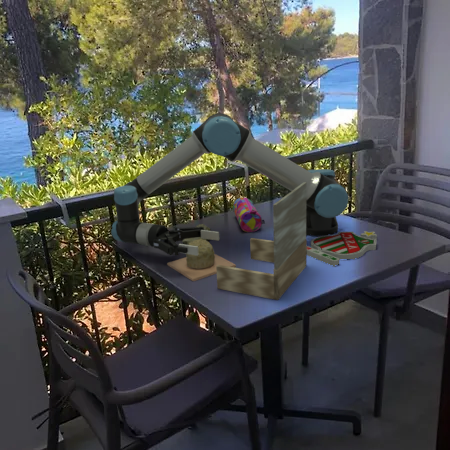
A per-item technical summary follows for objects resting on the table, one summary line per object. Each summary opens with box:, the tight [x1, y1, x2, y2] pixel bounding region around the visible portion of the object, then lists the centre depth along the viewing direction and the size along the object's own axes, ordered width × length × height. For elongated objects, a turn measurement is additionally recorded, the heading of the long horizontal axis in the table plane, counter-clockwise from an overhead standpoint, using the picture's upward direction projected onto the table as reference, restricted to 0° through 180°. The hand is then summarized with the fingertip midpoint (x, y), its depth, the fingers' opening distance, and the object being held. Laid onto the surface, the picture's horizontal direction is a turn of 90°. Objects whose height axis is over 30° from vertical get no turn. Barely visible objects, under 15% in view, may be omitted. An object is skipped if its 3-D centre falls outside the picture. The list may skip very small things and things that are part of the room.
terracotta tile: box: [166, 253, 237, 282], centre depth 152 cm, size 16×16×1 cm
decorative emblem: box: [307, 230, 378, 267], centre depth 162 cm, size 19×2×30 cm
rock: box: [181, 223, 212, 245], centre depth 172 cm, size 11×6×10 cm
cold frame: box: [216, 182, 308, 301], centre depth 138 cm, size 19×24×27 cm
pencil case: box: [232, 197, 266, 233], centre depth 188 cm, size 22×9×9 cm, turn 9°
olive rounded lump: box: [185, 239, 216, 269], centre depth 151 cm, size 9×10×10 cm
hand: (208, 243), depth 148 cm, fingers open, 13 cm apart
